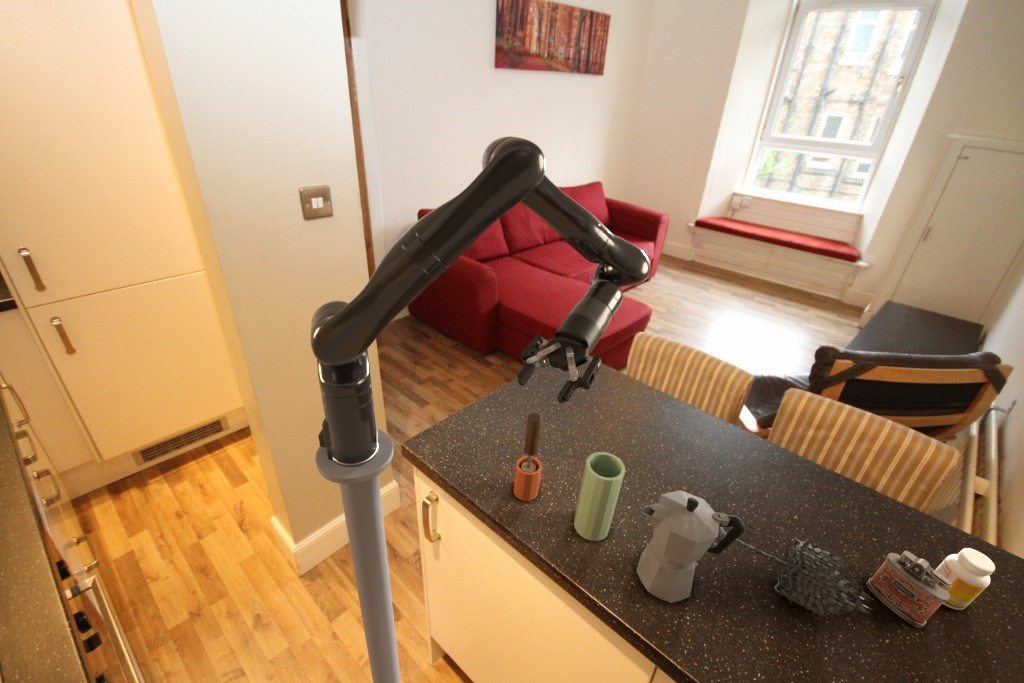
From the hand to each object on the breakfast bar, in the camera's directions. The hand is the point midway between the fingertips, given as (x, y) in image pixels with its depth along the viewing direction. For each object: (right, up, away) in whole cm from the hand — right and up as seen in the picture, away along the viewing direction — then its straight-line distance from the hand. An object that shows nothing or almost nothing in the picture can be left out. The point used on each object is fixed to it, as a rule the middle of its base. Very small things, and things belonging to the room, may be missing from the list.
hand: (539, 391), depth 78 cm
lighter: (+57, -34, -6) cm, 67 cm away
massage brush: (+39, -32, -4) cm, 51 cm away
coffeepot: (+21, -30, -4) cm, 37 cm away
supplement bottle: (+67, -34, -4) cm, 75 cm away
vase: (+10, -25, +3) cm, 27 cm away
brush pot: (-2, -20, +9) cm, 23 cm away
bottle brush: (-2, -20, +9) cm, 22 cm away
